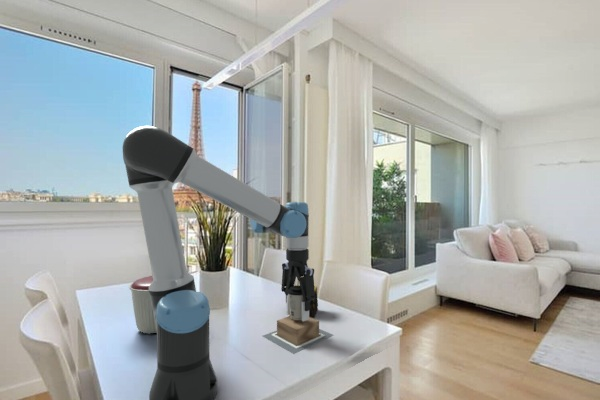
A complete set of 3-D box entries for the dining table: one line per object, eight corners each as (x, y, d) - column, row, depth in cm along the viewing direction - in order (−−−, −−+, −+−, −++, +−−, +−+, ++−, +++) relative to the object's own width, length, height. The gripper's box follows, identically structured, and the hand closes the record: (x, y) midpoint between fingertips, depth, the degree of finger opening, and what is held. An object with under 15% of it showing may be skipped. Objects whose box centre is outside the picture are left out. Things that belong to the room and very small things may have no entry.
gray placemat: (293, 355, 91) (293, 353, 91) (262, 337, 103) (262, 335, 103) (333, 336, 103) (333, 334, 103) (301, 322, 115) (301, 320, 115)
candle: (314, 319, 118) (314, 293, 118) (289, 317, 120) (288, 292, 120) (318, 309, 128) (318, 286, 128) (294, 308, 130) (294, 284, 130)
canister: (194, 321, 118) (194, 265, 117) (161, 342, 100) (160, 278, 100) (155, 316, 122) (154, 263, 122) (117, 336, 105) (116, 274, 105)
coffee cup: (289, 322, 99) (289, 291, 99) (285, 314, 106) (284, 285, 105) (310, 320, 101) (310, 289, 101) (304, 312, 107) (304, 283, 107)
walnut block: (296, 345, 96) (296, 329, 96) (277, 335, 104) (276, 320, 104) (319, 335, 103) (319, 320, 103) (299, 326, 110) (298, 312, 110)
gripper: (326, 250, 98) (327, 322, 98) (286, 243, 113) (287, 306, 113) (310, 253, 93) (310, 329, 93) (270, 246, 108) (270, 311, 108)
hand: (297, 316), depth 103 cm, fingers closed on coffee cup, 7 cm apart
